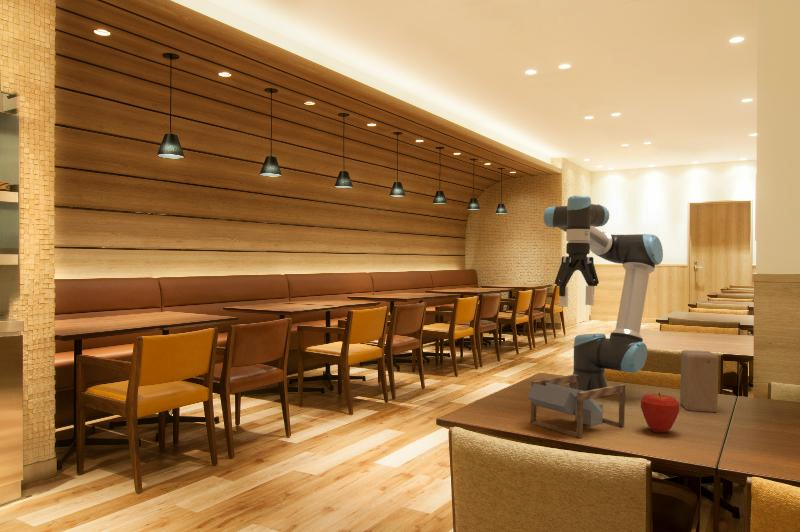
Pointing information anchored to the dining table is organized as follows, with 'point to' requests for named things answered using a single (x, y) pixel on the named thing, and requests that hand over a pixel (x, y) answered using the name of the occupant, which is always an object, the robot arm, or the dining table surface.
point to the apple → (659, 411)
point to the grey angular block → (559, 398)
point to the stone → (591, 416)
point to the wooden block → (699, 381)
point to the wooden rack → (580, 398)
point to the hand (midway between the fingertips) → (576, 305)
